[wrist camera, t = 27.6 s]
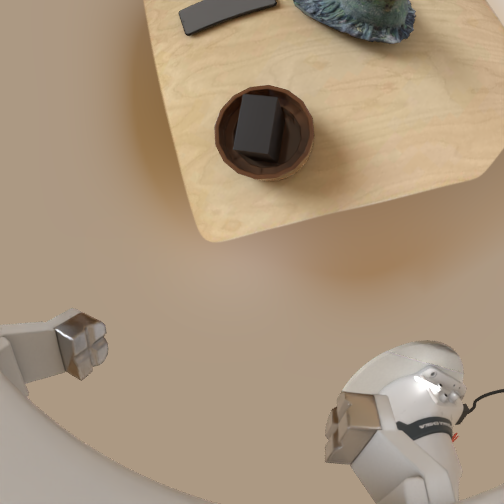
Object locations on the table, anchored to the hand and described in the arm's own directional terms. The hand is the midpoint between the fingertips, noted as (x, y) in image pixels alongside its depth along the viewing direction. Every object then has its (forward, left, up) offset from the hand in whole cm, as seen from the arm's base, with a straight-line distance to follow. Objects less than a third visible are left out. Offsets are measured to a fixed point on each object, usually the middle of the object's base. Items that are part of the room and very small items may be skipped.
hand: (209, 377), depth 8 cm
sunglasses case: (+6, -11, -28) cm, 31 cm away
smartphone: (+20, -32, -29) cm, 48 cm away
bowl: (+6, -11, -29) cm, 32 cm away
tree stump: (+1, -39, -29) cm, 49 cm away
